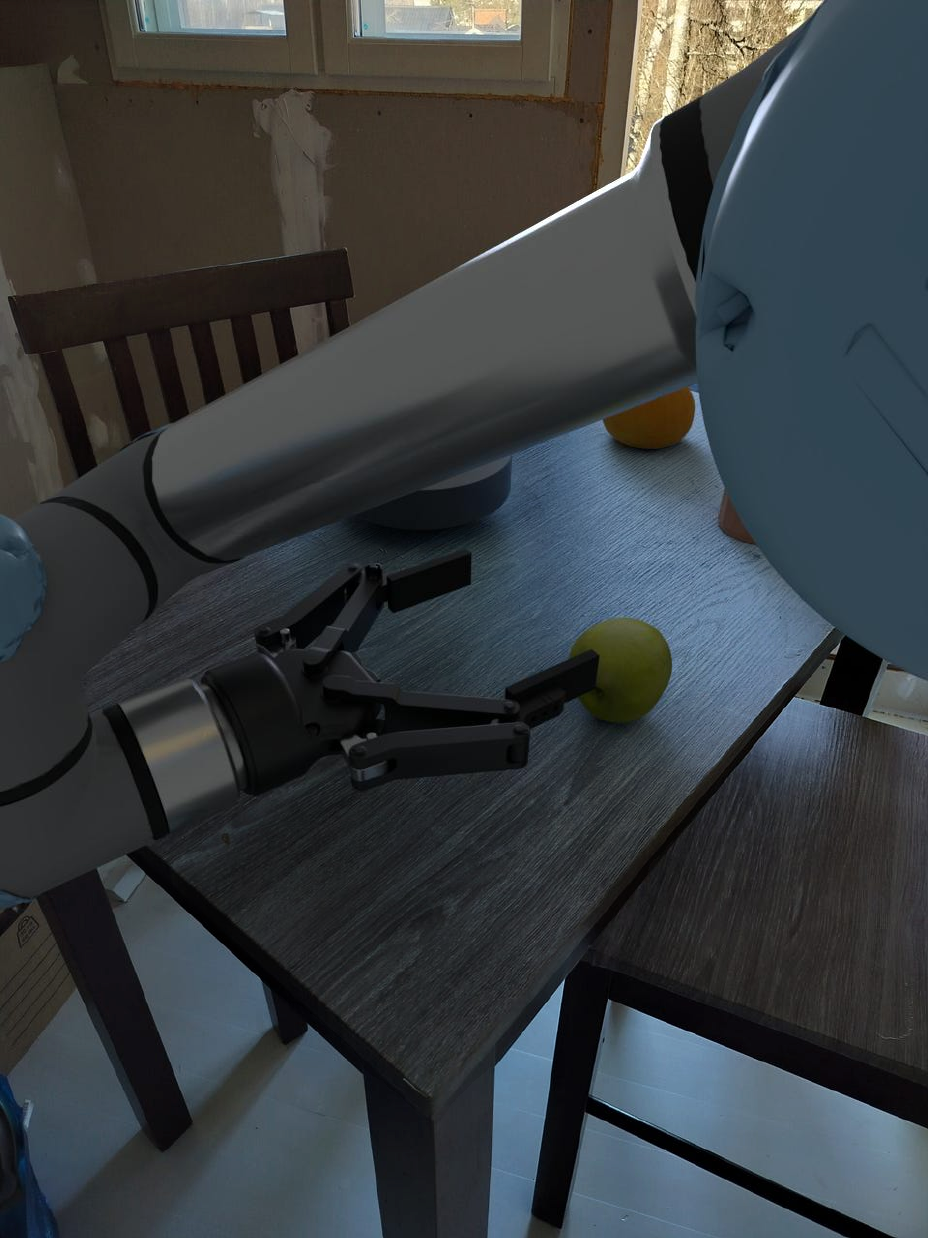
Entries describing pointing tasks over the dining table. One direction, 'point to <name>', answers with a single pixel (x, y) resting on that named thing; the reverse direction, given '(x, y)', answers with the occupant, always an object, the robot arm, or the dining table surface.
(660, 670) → the apple
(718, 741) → the dining table surface
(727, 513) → the cup
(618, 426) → the fruit
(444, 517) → the planter
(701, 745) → the dining table surface
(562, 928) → the dining table surface
